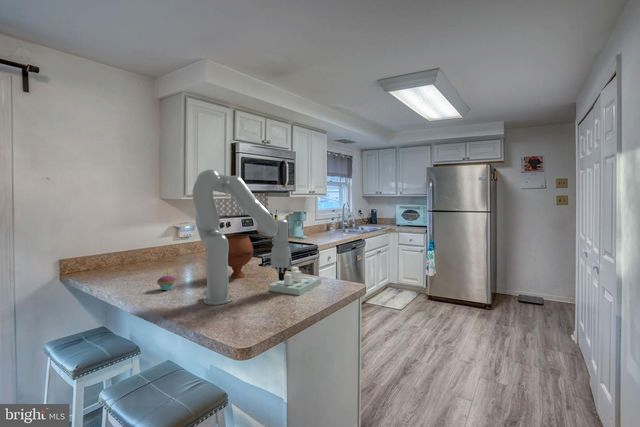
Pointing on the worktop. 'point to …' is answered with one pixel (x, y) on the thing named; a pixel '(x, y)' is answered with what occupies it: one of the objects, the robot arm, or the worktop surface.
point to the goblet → (239, 253)
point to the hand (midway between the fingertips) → (281, 280)
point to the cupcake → (166, 281)
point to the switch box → (296, 285)
